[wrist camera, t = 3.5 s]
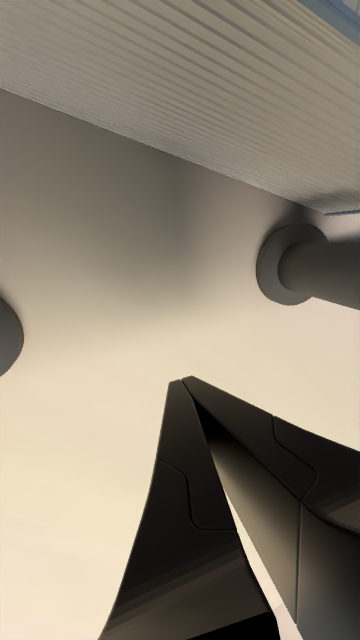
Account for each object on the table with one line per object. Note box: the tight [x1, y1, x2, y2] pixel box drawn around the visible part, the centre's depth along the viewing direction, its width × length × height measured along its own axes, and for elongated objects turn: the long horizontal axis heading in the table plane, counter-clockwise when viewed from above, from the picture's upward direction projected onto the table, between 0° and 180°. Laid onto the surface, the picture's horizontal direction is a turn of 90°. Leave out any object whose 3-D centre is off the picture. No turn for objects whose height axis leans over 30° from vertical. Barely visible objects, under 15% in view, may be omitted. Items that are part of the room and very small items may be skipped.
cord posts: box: [0, 224, 360, 376], centre depth 10 cm, size 8×24×5 cm, turn 99°
